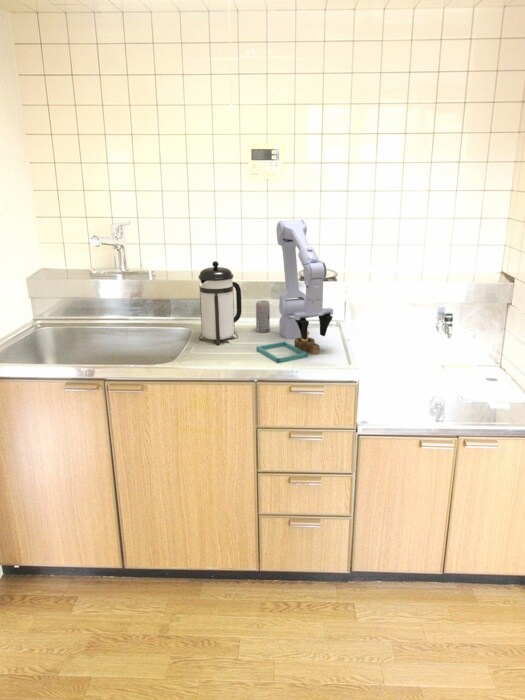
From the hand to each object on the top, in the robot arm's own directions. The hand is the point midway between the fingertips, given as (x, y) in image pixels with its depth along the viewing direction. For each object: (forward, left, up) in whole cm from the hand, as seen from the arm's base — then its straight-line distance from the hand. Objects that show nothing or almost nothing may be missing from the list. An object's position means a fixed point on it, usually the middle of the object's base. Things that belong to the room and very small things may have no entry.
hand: (313, 337), depth 177 cm
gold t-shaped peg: (-6, 0, -7) cm, 9 cm away
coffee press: (-34, -20, -7) cm, 40 cm away
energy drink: (-35, -1, -7) cm, 35 cm away
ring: (-4, 0, -6) cm, 7 cm away
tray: (-5, -10, -7) cm, 13 cm away
